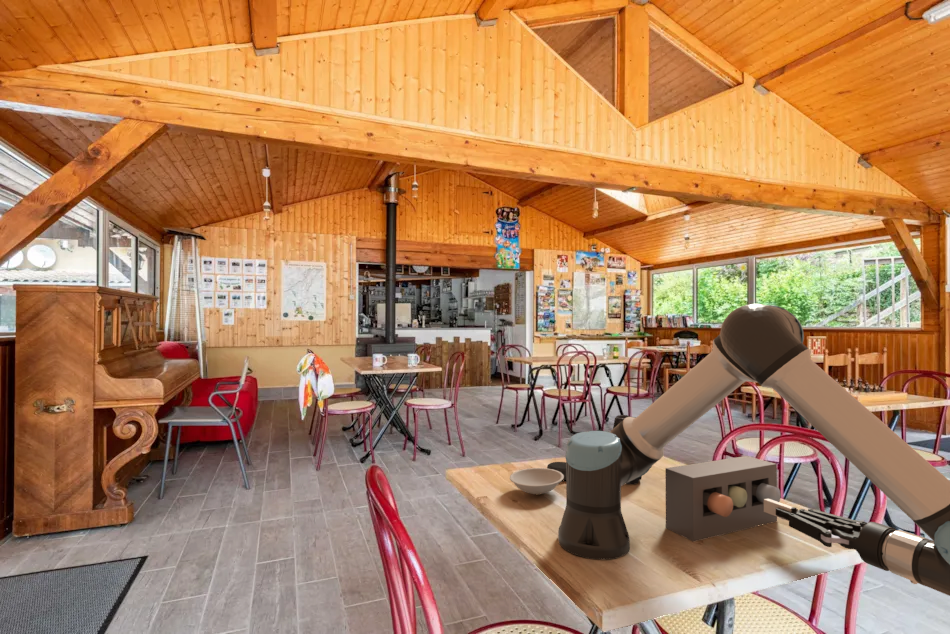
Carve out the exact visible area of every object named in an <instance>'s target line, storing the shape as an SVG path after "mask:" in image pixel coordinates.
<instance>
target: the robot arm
mask: <svg viewBox="0 0 950 634" xmlns="http://www.w3.org/2000/svg"><path fill="white" fill-rule="evenodd" d="M804 339H805V335H804V327H803V326H802V324H801V322H800V321H799V319H798V318H797V317H796V315H794V314H793V313H791V312H790V311H788V310H787V309H786V308H784V307H781V306H779V305H773V304H762V303H751V304H749V303H748V304H745V305H741V306H740V307H737V308H736V309H734V310H733V311H731V312H729V313H728V314H727V316H726V317H725V318H724V320H723V322H722V325H721V327H720V333H719V334H718V335H717V337H715V338H714V339H713V340H712V350H711V351H710V353H708V354H707V355H706V356H705V357H704V358H702V360H700V361H699V362H698V363H696V365H694V366H693V367H692V368H691V369H690V370H688V372H687V373H685V374H684V375H683V376H682V377H681V378H680V379H678V381H676V382H675V383H674V384H673V385H672V386H670V388H668V389H667V390H666V391H665V392H664V393H663V394H662V395H660V396H659V397H658V398H657V399H656V400H654V402H653V403H651V404H650V405H649V406H647V408H645V409H644V410H643V411H642V412H641V413H639V414H638V415H637V416H636V418H634V417H635V416H630V417H626V418H625V419H624V420H623V421H622V422H620V423H619V424H618V425H617V426H616V427H615V428H614V429H613V428H612V429H611V430H610V431H609V432H608V431H605V430H588V431H581V432H577V433H575V434H573V435H572V436H571V437H569V438H568V440H567V442H566V451H565V461H566V481H565V482H566V483H565V484H566V485H565V486H566V487H565V489H566V492H565V493H566V494H565V495H566V498H565V499H566V500H565V501H566V502H565V503H566V504H565V507H564V508H565V509H564V511H563V515H562V518H561V523H560V524H559V527H558V530H557V531H558V532H557V533H558V536H557V537H558V539H557V540H558V543H559V545H560V546H561V548H563V549H564V550H565V551H567V552H569V553H571V554H573V555H575V556H578V557H581V558H587V559H593V560H611V559H612V560H613V559H618V558H621V557H624V556H625V555H627V554H628V552H629V550H630V545H631V544H630V535H629V531H628V530H627V529H628V528H627V525H626V522H625V519H624V515H623V513H622V504H621V503H622V486H624V485H627V484H626V483H628V482H630V481H632V480H634V479H635V478H638V477H641V476H642V477H643V476H645V474H646V473H648V472H649V471H650V470H651V468H652V466H653V465H654V464H656V463H657V462H659V460H661V459H662V458H663V456H664V447H666V446H667V445H668V444H670V442H672V441H673V440H674V439H675V438H677V437H678V436H680V435H681V434H682V433H683V432H684V431H686V430H687V429H688V428H689V427H691V425H693V424H694V423H695V422H696V421H698V420H699V419H701V418H702V417H703V416H704V415H705V414H707V413H708V412H709V411H710V410H712V408H714V407H716V405H718V404H719V403H720V402H721V401H724V399H725V398H727V397H728V396H729V395H730V394H732V393H733V392H734V391H735V390H736V389H738V388H739V387H741V385H742V384H744V383H746V382H752V383H757V384H759V386H761V387H762V388H769V389H773V390H774V391H775V392H776V393H777V394H778V395H779V396H780V397H781V398H783V400H784V401H786V402H787V403H788V404H789V405H790V406H791V407H792V408H793V410H795V411H796V412H797V413H798V414H799V415H801V417H803V419H804V420H806V421H807V423H809V424H810V425H811V426H812V427H813V428H814V429H815V430H816V431H817V432H818V433H820V435H822V436H823V438H824V439H826V440H827V441H828V442H829V443H830V444H831V445H832V446H833V447H834V448H835V449H837V451H839V453H840V454H841V455H843V456H844V457H845V458H846V459H847V460H848V461H849V462H850V463H851V464H852V465H853V466H854V467H855V468H856V469H857V470H858V471H860V472H861V473H862V474H863V475H864V476H865V477H866V478H867V479H868V480H869V481H870V482H871V483H872V484H873V485H875V486H876V487H877V488H878V489H879V491H881V492H882V493H883V494H884V495H885V496H886V497H887V498H888V499H889V500H890V501H892V503H894V505H896V507H898V508H899V509H900V510H901V511H902V512H903V513H904V514H905V515H906V516H908V518H910V520H911V521H913V522H914V524H916V526H917V527H918V528H919V529H920V530H921V531H923V533H924V534H926V535H927V536H928V537H929V538H930V539H929V538H927V537H923V536H921V535H917V534H914V533H911V532H908V531H905V530H901V529H898V530H897V529H896V528H894V527H891V526H888V525H884V524H881V523H878V522H876V521H869V522H866V521H865V520H863V521H862V520H856V519H852V518H848V517H844V516H841V515H836V514H832V513H829V512H825V511H821V510H817V509H813V508H808V509H805V508H800V509H799V508H798V507H794V506H791V505H789V504H786V503H782V502H780V501H779V502H777V501H774V500H771V499H764V512H766V513H769V514H771V515H774V516H777V518H780V519H782V520H785V521H787V522H788V526H789V527H790V528H791V529H794V530H796V531H798V532H800V533H802V534H804V535H805V536H808V537H809V538H811V539H814V540H816V541H818V542H819V543H821V544H822V545H823V546H825V547H827V548H832V547H833V544H837V545H840V546H841V547H843V548H845V549H848V550H855V551H856V552H857V553H858V556H859V557H860V559H861V561H863V563H865V564H868V565H870V566H872V567H876V568H878V569H880V570H882V571H886V572H890V573H891V574H893V575H895V576H899V577H901V578H904V579H906V580H909V581H910V583H911V584H913V585H918V584H919V585H922V586H924V587H927V588H930V589H932V590H935V591H937V592H940V593H942V594H944V595H947V596H950V472H941V471H939V470H938V469H937V468H936V467H934V466H933V465H932V464H931V463H930V462H929V461H928V460H926V458H924V457H923V456H922V455H920V453H919V452H918V451H916V450H915V449H914V448H912V446H911V445H909V444H908V443H907V442H906V441H905V440H904V439H903V438H901V436H899V434H897V433H895V431H894V430H893V429H891V428H890V427H889V426H887V424H886V423H884V422H883V421H882V420H881V419H880V418H879V417H878V416H876V415H875V413H872V412H871V411H870V409H868V408H867V407H866V406H865V405H864V404H863V403H862V402H860V401H859V400H858V399H857V398H856V397H855V396H853V395H852V393H850V392H849V391H847V390H846V389H845V388H844V387H843V386H842V385H841V384H839V382H837V381H836V380H835V379H834V378H833V377H831V375H829V374H828V373H827V372H826V371H825V370H824V369H822V368H821V367H820V366H819V365H818V364H817V363H816V362H815V361H813V360H812V358H811V350H810V348H808V347H807V345H805V344H804Z"/></svg>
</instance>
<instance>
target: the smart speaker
mask: <svg viewBox="0 0 950 634" xmlns="http://www.w3.org/2000/svg"><path fill="white" fill-rule="evenodd" d="M546 468H548V469H553V470H557V471H559V472H561V473H562V474H563V475H564V479H563V480H566V462H565V461H554V462H550V463H548V464H547V467H546Z"/></svg>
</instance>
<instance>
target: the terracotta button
mask: <svg viewBox="0 0 950 634" xmlns="http://www.w3.org/2000/svg"><path fill="white" fill-rule="evenodd" d="M703 504H705V505H707V506H708V508H709V510H710V511H711V512H714V513H716V514H719V515H721V516H723V517H727V516H729V515H730V514H731V512H732V510H733V501H732V499H731V498H730V497H728V496H725V495H722V494H720V493H717V492H714V493H712V494H708V493H703Z"/></svg>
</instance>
